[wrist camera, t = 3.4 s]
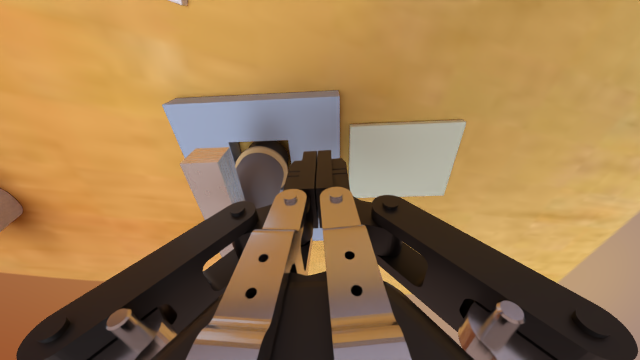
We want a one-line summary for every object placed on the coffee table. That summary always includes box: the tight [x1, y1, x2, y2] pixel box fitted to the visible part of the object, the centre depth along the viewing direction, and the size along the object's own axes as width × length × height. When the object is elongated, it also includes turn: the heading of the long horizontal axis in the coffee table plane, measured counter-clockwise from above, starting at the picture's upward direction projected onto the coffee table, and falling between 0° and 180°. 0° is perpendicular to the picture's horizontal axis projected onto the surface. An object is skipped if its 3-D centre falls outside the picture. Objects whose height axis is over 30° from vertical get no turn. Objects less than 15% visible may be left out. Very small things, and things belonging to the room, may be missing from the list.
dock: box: [162, 90, 340, 241], centre depth 20 cm, size 14×16×9 cm
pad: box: [349, 120, 466, 198], centre depth 22 cm, size 10×8×1 cm
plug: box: [235, 140, 288, 209], centre depth 19 cm, size 5×5×8 cm
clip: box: [180, 147, 245, 257], centre depth 16 cm, size 4×16×2 cm, turn 3°
